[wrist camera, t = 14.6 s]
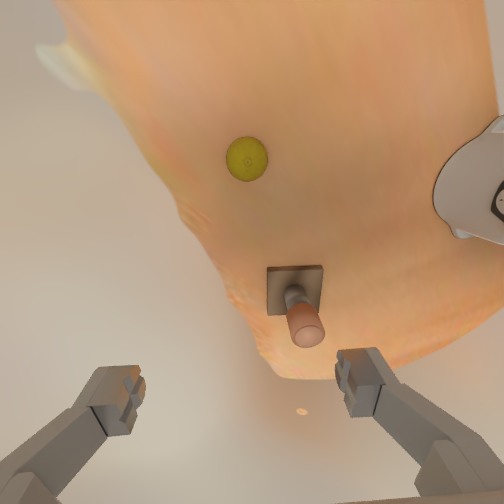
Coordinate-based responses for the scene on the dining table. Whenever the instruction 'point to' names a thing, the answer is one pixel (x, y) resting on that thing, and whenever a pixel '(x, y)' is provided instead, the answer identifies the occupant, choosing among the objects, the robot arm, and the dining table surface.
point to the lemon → (247, 159)
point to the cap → (305, 325)
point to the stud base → (292, 278)
